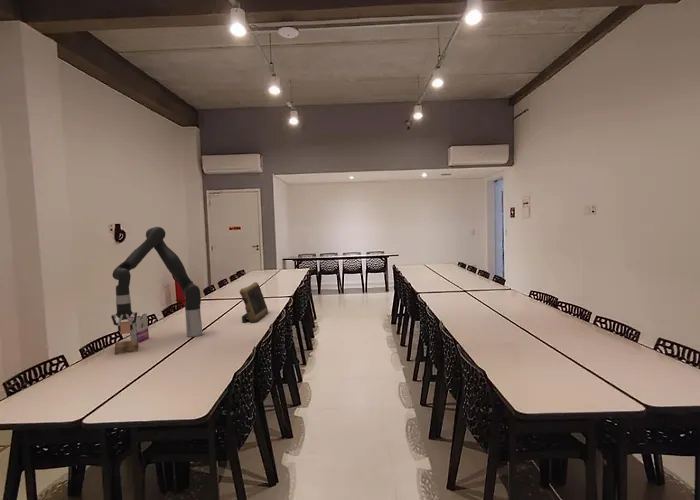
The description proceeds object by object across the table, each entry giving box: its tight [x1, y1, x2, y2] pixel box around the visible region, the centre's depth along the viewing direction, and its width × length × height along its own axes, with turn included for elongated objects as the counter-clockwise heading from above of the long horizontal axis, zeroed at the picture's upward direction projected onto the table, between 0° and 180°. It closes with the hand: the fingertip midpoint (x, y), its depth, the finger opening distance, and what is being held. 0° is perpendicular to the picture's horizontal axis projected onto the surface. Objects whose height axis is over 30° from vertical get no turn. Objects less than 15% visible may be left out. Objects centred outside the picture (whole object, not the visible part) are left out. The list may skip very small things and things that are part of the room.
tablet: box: [239, 281, 269, 324], centre depth 333 cm, size 33×14×25 cm, turn 179°
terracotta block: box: [120, 320, 131, 335], centre depth 261 cm, size 5×5×6 cm
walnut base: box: [114, 339, 139, 355], centre depth 262 cm, size 12×12×4 cm
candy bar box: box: [129, 312, 150, 343], centre depth 281 cm, size 11×5×16 cm, turn 168°
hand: (125, 331), depth 261 cm, fingers closed on terracotta block, 5 cm apart
